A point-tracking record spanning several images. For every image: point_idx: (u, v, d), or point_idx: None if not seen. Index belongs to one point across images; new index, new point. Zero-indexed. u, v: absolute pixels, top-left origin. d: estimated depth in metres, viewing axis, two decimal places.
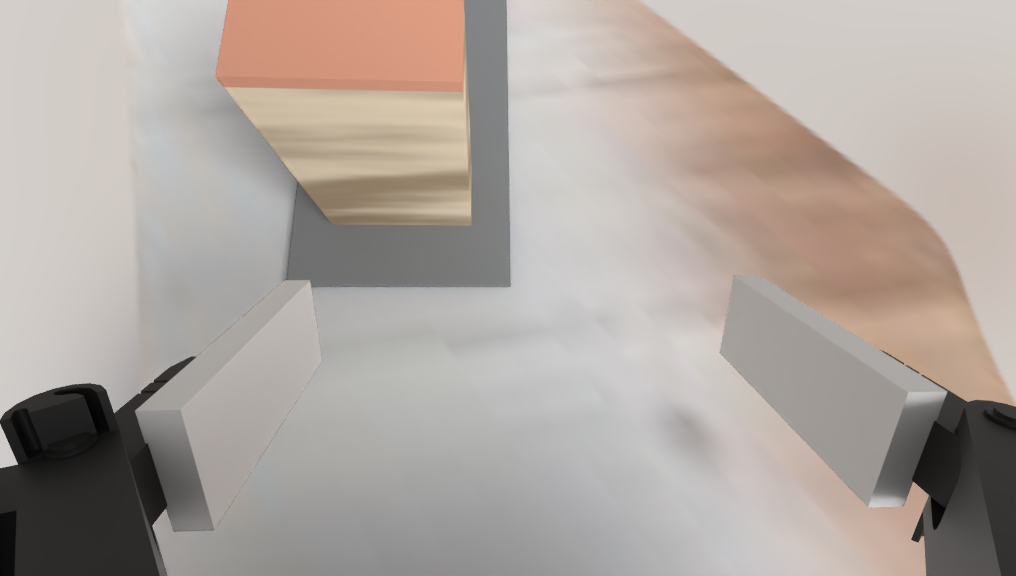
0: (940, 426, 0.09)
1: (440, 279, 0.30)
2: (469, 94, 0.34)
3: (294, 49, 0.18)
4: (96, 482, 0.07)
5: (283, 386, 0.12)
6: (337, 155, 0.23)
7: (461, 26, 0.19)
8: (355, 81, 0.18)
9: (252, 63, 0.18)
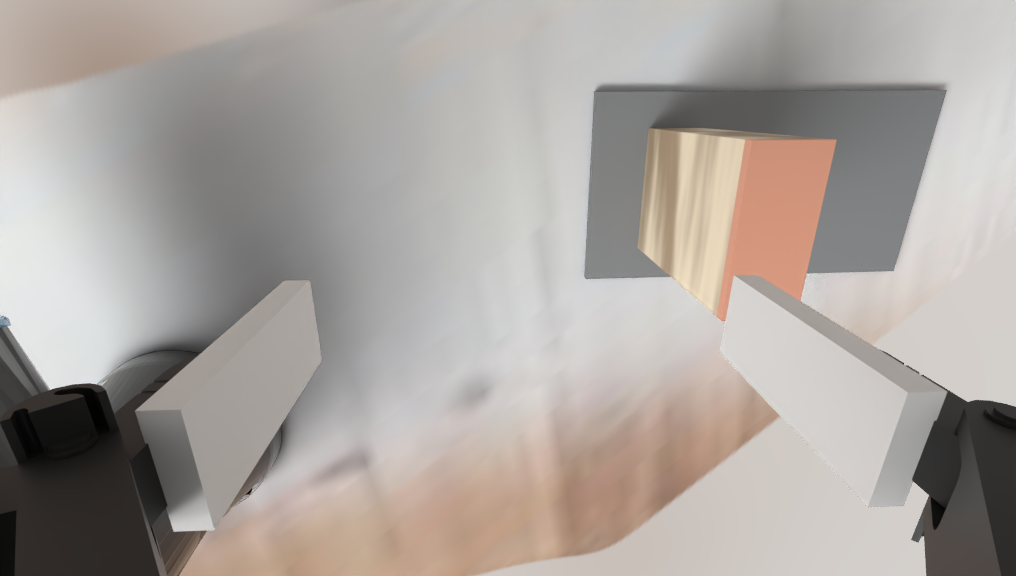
0: (940, 426, 0.09)
1: (593, 224, 0.37)
2: None
3: (767, 199, 0.23)
4: (96, 482, 0.07)
5: (283, 386, 0.12)
6: (693, 184, 0.28)
7: None
8: (732, 246, 0.24)
9: (759, 168, 0.22)
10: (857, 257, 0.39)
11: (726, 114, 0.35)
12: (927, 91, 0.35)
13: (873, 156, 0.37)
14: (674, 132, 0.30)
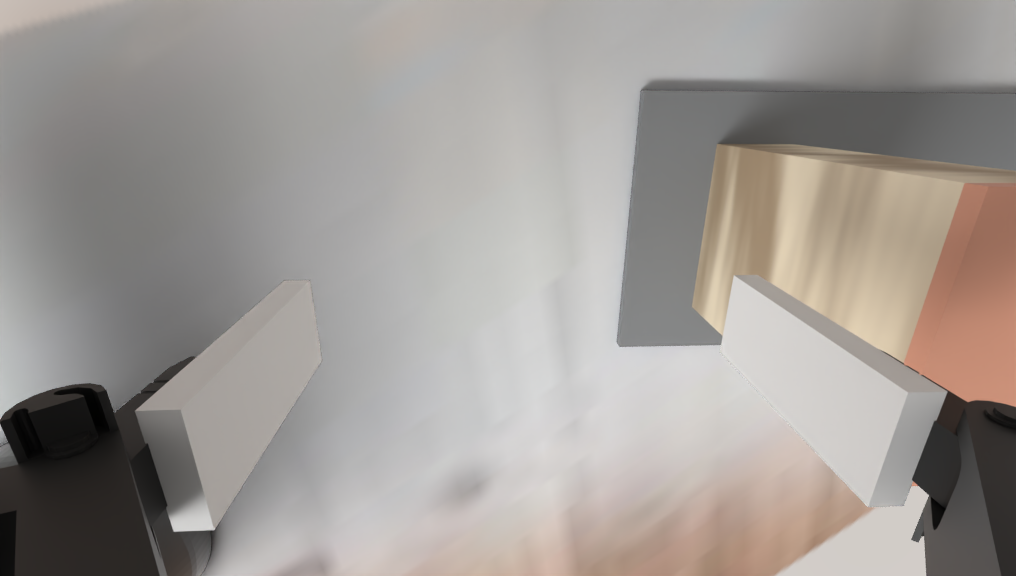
0: (940, 426, 0.09)
1: (632, 275, 0.27)
2: None
3: (996, 292, 0.12)
4: (96, 482, 0.07)
5: (283, 386, 0.12)
6: (812, 241, 0.17)
7: None
8: (918, 369, 0.13)
9: (992, 238, 0.12)
10: None
11: (828, 125, 0.24)
12: None
13: None
14: (770, 154, 0.20)
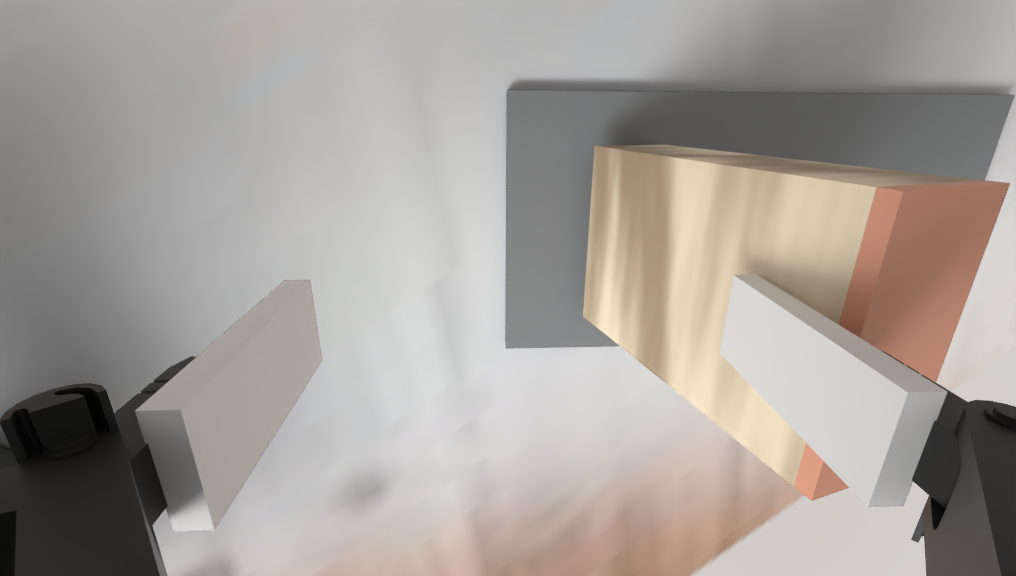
0: (940, 426, 0.09)
1: (512, 276, 0.27)
2: None
3: (904, 295, 0.12)
4: (96, 482, 0.07)
5: (283, 386, 0.12)
6: (711, 247, 0.17)
7: None
8: None
9: (903, 243, 0.11)
10: None
11: (698, 125, 0.24)
12: (987, 96, 0.24)
13: None
14: (656, 156, 0.19)
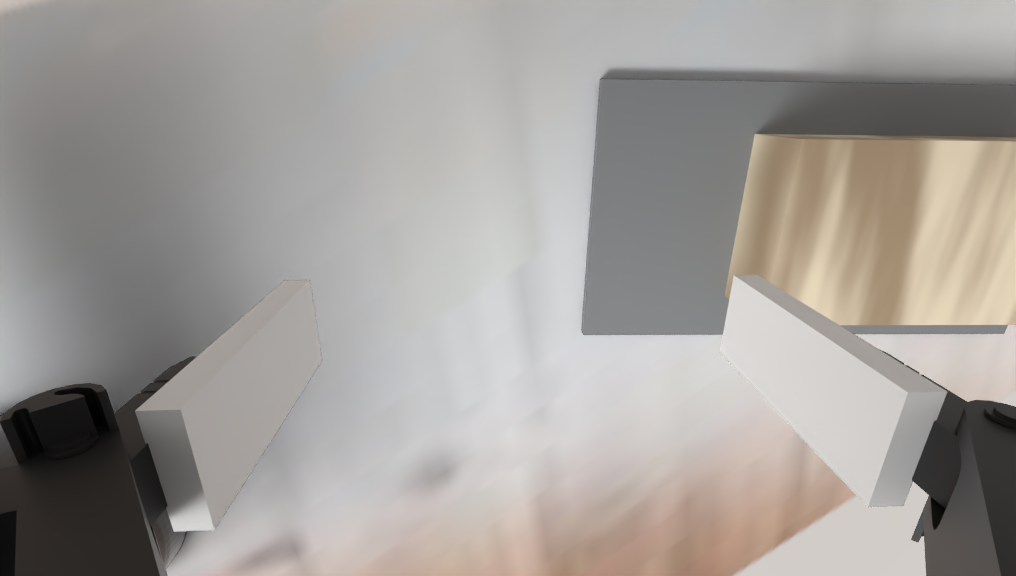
0: (940, 426, 0.09)
1: (594, 264, 0.27)
2: None
3: None
4: (96, 482, 0.07)
5: (283, 385, 0.12)
6: (967, 203, 0.22)
7: None
8: None
9: None
10: None
11: (788, 115, 0.24)
12: None
13: None
14: (909, 141, 0.21)
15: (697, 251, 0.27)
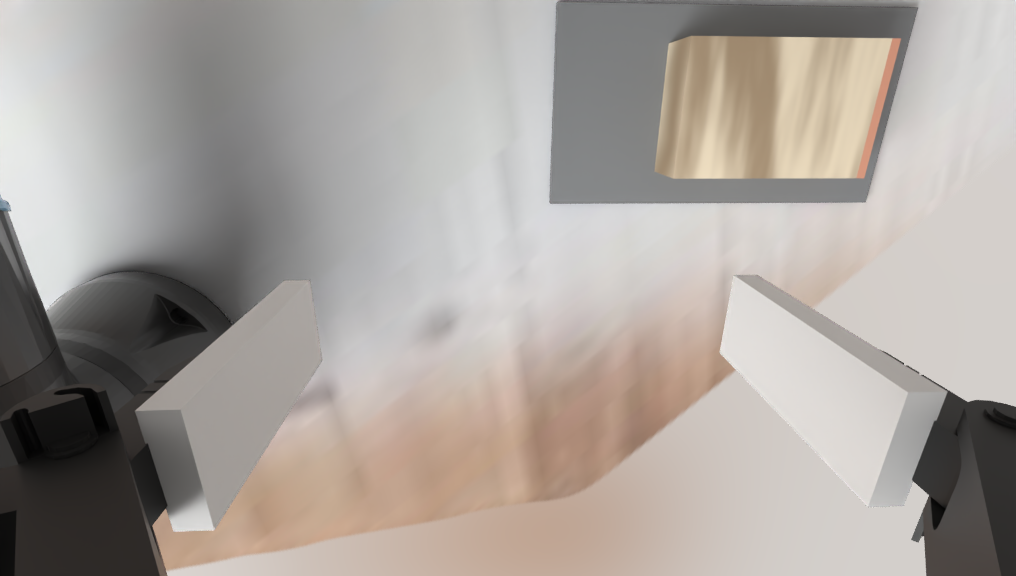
0: (940, 426, 0.09)
1: (556, 145, 0.37)
2: None
3: None
4: (96, 482, 0.07)
5: (283, 385, 0.12)
6: (810, 84, 0.32)
7: None
8: (877, 119, 0.33)
9: None
10: (828, 186, 0.39)
11: (691, 29, 0.34)
12: (898, 8, 0.34)
13: None
14: (765, 37, 0.31)
15: (632, 135, 0.37)
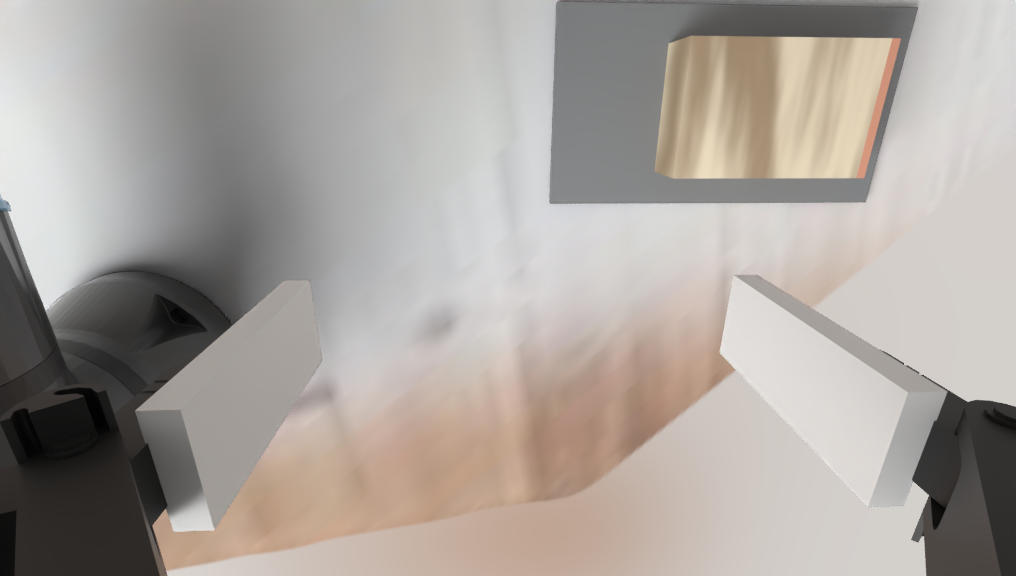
0: (940, 426, 0.09)
1: (556, 145, 0.37)
2: None
3: None
4: (96, 482, 0.07)
5: (283, 385, 0.12)
6: (810, 84, 0.32)
7: None
8: (877, 119, 0.33)
9: None
10: (828, 186, 0.39)
11: (691, 29, 0.34)
12: (898, 8, 0.34)
13: None
14: (765, 37, 0.31)
15: (632, 135, 0.37)
